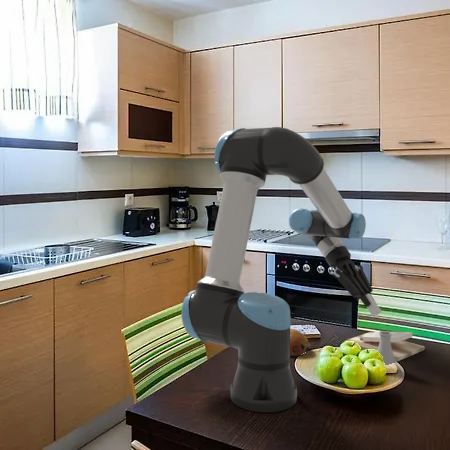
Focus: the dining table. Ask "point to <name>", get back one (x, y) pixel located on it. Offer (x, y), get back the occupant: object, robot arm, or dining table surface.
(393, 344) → the board
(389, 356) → the flask
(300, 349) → the brown rounded lump
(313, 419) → the dining table surface
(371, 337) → the tile
